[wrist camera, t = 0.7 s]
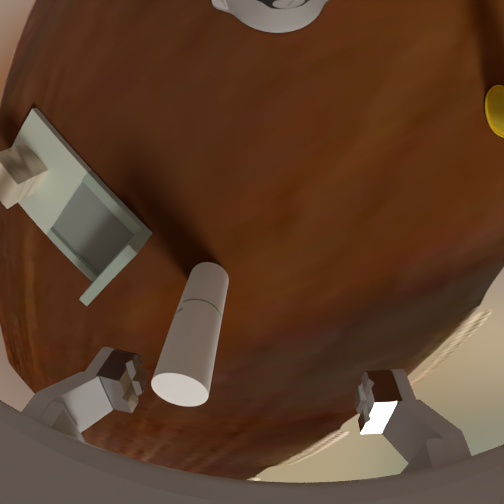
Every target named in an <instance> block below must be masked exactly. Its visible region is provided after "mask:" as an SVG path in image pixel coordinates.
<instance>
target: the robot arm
mask: <svg viewBox="0 0 504 504" xmlns="http://www.w3.org/2000/svg"><path fill="white" fill-rule="evenodd" d="M327 1H328V0H212V5H213V7H215V8H216V9H219V10H222V11H225V12H229V13H231V14H233V15H234V16H236V17H237V18H238V19H239V20H240V21H242V22H243V23H245V24H246V25H248V26H250V27H252V28H255V29H258V30H261V31H266V32H273V33H282V32H290V31H294V30H297V29H300V28H302V27H304V26H306V25H308V24H309V23H311V22H312V21H313V20H314V19H315V18H316V17H317V16H318V15H319V13H320V11H321V9H322V7H323V6H324V4H325V3H326V2H327ZM141 363H142V359H141V356H140V355H139V354H136V353H131V352H127V351H122V350H118V349H113V348H109V347H104V348H102V349H101V350H100V351H99V353H98V354H97V356H96V357H95V358H94V360H93V361H92V362H91V364H90V365H89V366H88V368H87V369H86V371H85V372H79V373H77V374H75V375H73V376H71V377H69V378H67V379H64V380H62V381H60V382H58V383H56V384H54V385H51V386H49V387H47V388H45V389H43V390H40V391H38V392H36V393H35V395H34V396H33V398H32V399H31V400H30V401H29V403H28V404H27V405H26V407H25V408H24V409H23V411H22V412H20V411H18V410H16V409H14V408H13V407H11V406H9V405H7V404H6V403H4V402H2V401H1V400H0V504H504V444H503V445H501V446H498V447H496V448H493V449H491V450H488V451H485V452H482V453H479V454H477V455H474V456H471V454H470V451H469V448H468V446H467V443H466V440H465V438H464V435H463V433H462V431H461V430H460V429H458V428H457V427H456V426H454V425H453V424H452V423H450V422H449V421H448V420H446V419H445V418H443V417H442V416H441V415H439V414H438V413H437V412H435V411H434V410H433V409H431V408H430V407H429V406H427V405H426V404H425V403H423V402H422V401H421V400H416V398H415V396H414V393H413V390H412V388H411V385H410V383H409V380H408V378H407V375H406V373H405V370H403V369H393V370H377V371H364V373H363V374H362V377H361V381H362V384H361V385H360V386H359V387H358V389H357V392H356V398H355V404H356V411H357V412H358V413H360V414H361V415H360V417H359V419H358V422H359V427H360V433H361V434H369V433H382V434H383V435H384V436H385V437H386V439H387V440H388V441H389V442H390V443H391V444H392V445H393V446H394V447H395V449H396V450H397V451H398V452H399V453H400V454H401V455H402V456H403V457H404V459H405V460H406V461H407V462H408V463H409V464H408V465H407V466H406V468H405V469H404V470H403V471H402V472H401V473H400V474H398V475H392V476H386V477H379V478H371V479H362V480H352V481H339V482H318V483H284V482H263V481H250V480H239V479H230V478H222V477H215V476H208V475H202V474H196V473H191V472H186V471H181V470H176V469H171V468H167V467H162V466H158V465H154V464H150V463H147V462H143V461H139V460H136V459H132V458H129V457H126V456H123V455H119V454H116V453H113V452H110V451H107V450H104V449H102V448H99V447H96V446H93V445H91V444H88V443H87V442H86V440H85V439H84V437H83V436H82V434H81V432H82V431H84V430H85V429H86V428H88V427H89V426H91V425H92V424H94V423H95V422H96V421H98V420H99V419H101V418H102V417H104V416H105V415H106V414H108V413H109V412H111V411H112V410H113V409H116V410H120V411H125V412H129V413H133V411H134V409H135V407H136V405H137V403H138V399H137V396H138V395H139V394H141V393H142V392H143V390H144V388H145V384H146V373H145V370H144V369H143V368H142V367H141V366H140V365H141Z"/></svg>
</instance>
